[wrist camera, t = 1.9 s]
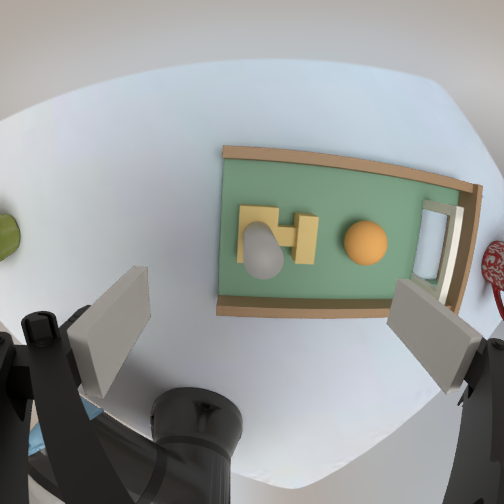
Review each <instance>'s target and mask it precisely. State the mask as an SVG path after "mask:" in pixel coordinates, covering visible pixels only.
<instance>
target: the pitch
mask: <svg viewBox="0 0 504 504" xmlns="http://www.w3.org/2000/svg"><path fill="white" fill-rule="evenodd" d="M222 158H223V159H224V170H223V188H222V208H221V231H220V259H219V295H218V300H217V306H216V315H218V316H237V317H262V318H310V319H335V318H382V317H388V316H389V312H390V308H391V304H392V300H393V296H394V291H395V287H396V282H397V279H409V280H411V281H412V282H413V283H415V284H416V285H418V286H419V287H420V288H422V289H423V290H424V291H426V292H427V293H428V294H430V295H431V296H433V297H434V298H435V299H437V300H438V301H439V302H441V303H442V304H443V305H444V306H446V307H447V308H448V309H450V310H451V311H452V312H454V313H455V314H456V315H457V316H458V313H459V310H460V306H461V303H462V300H463V296H464V292H465V289H466V285H467V281H468V277H469V272H470V268H471V263H472V259H473V254H474V249H475V243H476V237H477V231H478V225H479V217H480V209H481V200H482V190H483V186H481V185H478V184H472V183H468V182H465V181H461V180H457V179H454V178H450V177H446V176H442V175H438V174H434V173H429V172H425V171H421V170H416V169H412V168H407V167H402V166H397V165H392V164H387V163H381V162H376V161H370V160H364V159H358V158H351V157H345V156H338V155H330V154H322V153H314V152H305V151H296V150H286V149H274V148H261V147H245V146H223V153H222ZM440 202H441V203H440ZM445 203H446V204H445ZM240 204H251V205H267V206H277V207H278V208H279V216H278V225H291V226H293V224H294V213H295V212H302V213H313V214H314V215H316V216H318V217H319V221H318V231H317V240H316V249H315V258H314V264H295V263H294V261H293V259H292V257H291V246H280V248H281V250H282V252H283V256H284V264H283V267H282V269H281V270H280V272H279V273H278V274H277V275H275V276H274V277H272V278H269V279H257V278H255V277H253V276H251V275H250V274H249V273H248V272H247V271H246V269H245V267H244V263H237V250H238V231H239V212H240ZM422 209H426V210H430V211H434V212H438V213H442V214H446V215H448V219H447V226H446V232H445V239H444V245H443V250H442V255H441V260H440V265H439V270H438V275H437V279H436V280H424V279H422V278H421V277H419V276H418V275H416V274H415V273H413V272H412V271H413V266H414V261H415V255H416V250H417V244H418V238H419V231H420V224H421V217H422ZM365 220H367V221H372V222H375V223H377V224H378V225H380V226H381V227H382V229H383V230H384V231H385V233H386V236H387V241H388V246H387V250H386V253H385V255H384V256H383V258H382V259H381V260H380V261H379V262H377V263H375V264H373V265H368V266H364V265H359V264H357V263H355V262H353V261H352V260H351V259H350V258H349V257H348V255H347V253H346V251H345V247H344V239H345V235H346V233H347V231H348V229H349V228H350V227H351V226H352V225H353V224H355V223H357V222H359V221H365Z"/></svg>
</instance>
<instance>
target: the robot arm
mask: <svg viewBox="0 0 504 504" xmlns="http://www.w3.org/2000/svg"><path fill="white" fill-rule="evenodd" d="M150 317H151V313H150V301H149V287H148V269H147V267H137V266H133V267H132V268H131V269H130V270H129V271H128V272H127V273H126V274H124V275H123V276H122V277H121V278H120V279H119V280H118V281H117V282H116V283H115V284H114V285H113V286H111V287H110V288H109V289H108V290H107V291H106V292H105V293H104V294H103V295H102V296H101V297H100V298H99V299H98V300H97V301H96V302H95V303H94V304H93V305H87V306H85V307H82V308H80V309H78V310H77V311H76V312H75V313H74V314H73V315H72V316H71V317H70V318H69V319H68V321H66V322H65V323H64V324H63V325H61V326H60V327H59V328H58V324H57V320H56V316H55V315H54V314H53V313H51V312H48V311H38V312H34V313H31V314H29V315H27V316H25V317H24V318H23V319H22V321H21V326H22V329H23V333H24V336H25V339H26V343H27V345H14V343H13V340H12V337H11V335H10V334H9V333H7V332H0V504H230V465H231V457H232V455H233V452H234V450H235V448H236V446H237V443H238V441H239V439H240V438H241V435H242V416H241V414H240V412H239V410H238V409H237V407H236V406H235V405H234V404H233V403H232V402H230V401H229V400H228V399H226V398H224V397H223V396H221V395H219V394H216V393H214V392H211V391H207V390H203V389H197V388H179V389H174V390H170V391H168V392H166V393H164V394H162V395H161V396H159V397H158V398H157V400H156V401H155V403H154V405H153V408H152V411H151V416H150V422H151V430H152V438H153V441H151V440H149V439H147V438H145V437H144V436H142V435H140V434H138V433H137V432H135V431H133V430H131V429H130V428H128V427H127V426H125V425H123V424H122V423H120V422H119V421H117V420H115V419H114V418H112V417H111V416H110V415H108V414H107V413H105V412H104V409H102V408H98V407H97V406H95V405H94V404H92V403H90V402H89V401H87V400H86V399H84V398H83V397H82V396H80V395H79V392H78V389H77V388H78V387H79V385H80V384H81V383H82V386H83V389H84V392H85V395H89V396H93V397H97V398H101V399H104V397H105V395H106V393H107V392H108V390H109V388H110V386H111V384H112V383H113V381H114V379H115V377H116V375H117V374H118V372H119V370H120V368H121V366H122V365H123V363H124V361H125V359H126V358H127V356H128V354H129V352H130V351H131V349H132V347H133V346H134V344H135V342H136V340H137V339H138V337H139V335H140V334H141V332H142V330H143V329H144V327H145V325H146V324H147V322H148V320H149V319H150ZM387 325H388V326H389V327H390V328H391V329H392V330H393V331H394V333H395V334H396V335H397V336H398V337H399V338H400V340H401V341H402V342H403V343H404V344H405V346H406V347H407V348H408V349H409V350H410V351H411V353H412V354H413V355H414V356H415V357H416V359H417V360H418V361H419V362H420V363H421V365H422V366H423V367H424V368H425V370H426V371H427V372H428V373H429V374H430V376H431V377H432V378H433V379H434V381H435V382H436V383H437V384H438V386H439V387H440V388H441V389H442V391H443V392H444V393H445V394H446V395H447V394H450V393H454V392H458V390H459V388H460V386H461V384H462V382H463V380H465V381H466V382H467V383H468V385H467V387H466V389H465V391H464V393H463V395H462V397H461V399H460V400H459V402H458V404H457V405H458V406H459V405H460V403H461V402H463V406H462V407H463V410H462V418H461V425H460V432H459V437H458V443H457V448H456V453H455V458H454V463H453V467H452V471H451V475H450V479H449V483H448V486H447V490H446V493H445V496H444V500H443V503H442V504H504V341H503V340H501V339H496V338H490V339H488V341H487V340H486V339H484V338H483V335H481V334H480V333H479V332H478V331H476V330H475V329H474V328H473V327H471V326H470V325H469V324H468V323H466V322H465V321H464V320H463V319H461V318H460V317H459V316H457V315H456V314H455V313H454V312H452V311H451V310H450V309H448V308H447V307H446V306H444V305H443V304H442V303H441V302H439V301H438V300H437V299H435V298H434V297H433V296H431V295H430V294H428V293H427V292H426V291H424V290H423V289H422V288H420V287H419V286H418V285H416V284H415V283H413V282H412V281H411V280H409V279H397V282H396V287H395V291H394V296H393V300H392V304H391V308H390V312H389V316H388V320H387ZM33 400H35V406H36V411H37V415H38V420H39V421H38V423H37V424H36V425H35V426H34V427H33V429H32V430H31V431H30V421H31V411H32V403H33Z"/></svg>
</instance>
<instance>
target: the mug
mask: <svg viewBox="0 0 504 504" xmlns="http://www.w3.org/2000/svg"><path fill="white" fill-rule="evenodd" d="M482 274H483V277H484V279H485V280H486V281H488V282H489V283H491V285H492V289H493V293H494V297H495V301H496V304H497V307H498V310H499V313H500V315H501V317H502V319H503V321H504V306H503V303H502V299H501V295H500V290H502V291H504V242H500V241H495V242H493V243H491V244H490V245H489V247H488V248H487V250H486V252H485V254H484V257H483V261H482Z"/></svg>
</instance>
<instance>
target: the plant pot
mask: <svg viewBox="0 0 504 504" xmlns="http://www.w3.org/2000/svg"><path fill="white" fill-rule="evenodd" d="M19 242H20V232H19V228H18V227H17V225H16V221H15V219H14V218H13V217H12V216H10V215H0V261H2V260H3V259H5V258H6V257H7V256H9V255H10V254H12V253H13V252H14V251H15V250H16V249H17V248H18V246H19Z"/></svg>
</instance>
